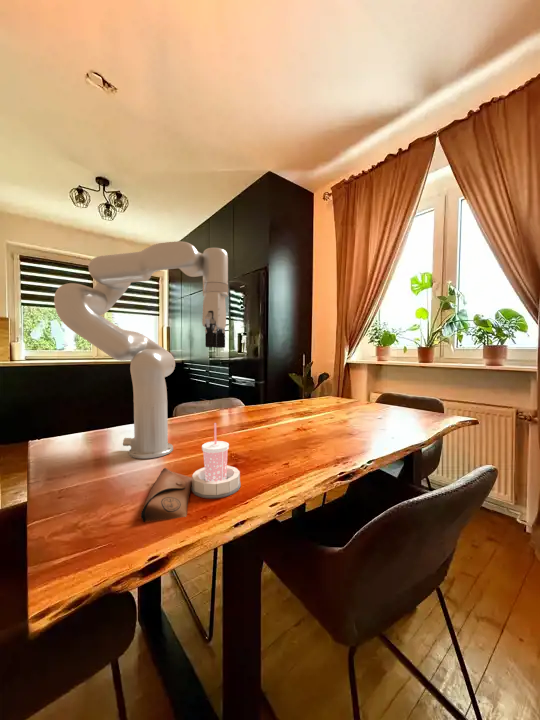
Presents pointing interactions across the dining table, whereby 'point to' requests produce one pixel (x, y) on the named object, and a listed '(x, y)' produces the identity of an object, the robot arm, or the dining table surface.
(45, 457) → the dining table surface
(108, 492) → the dining table surface
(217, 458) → the beverage cup
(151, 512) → the sunglasses case
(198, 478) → the cup holder ring
